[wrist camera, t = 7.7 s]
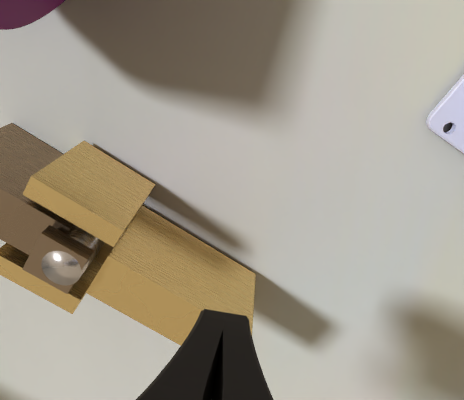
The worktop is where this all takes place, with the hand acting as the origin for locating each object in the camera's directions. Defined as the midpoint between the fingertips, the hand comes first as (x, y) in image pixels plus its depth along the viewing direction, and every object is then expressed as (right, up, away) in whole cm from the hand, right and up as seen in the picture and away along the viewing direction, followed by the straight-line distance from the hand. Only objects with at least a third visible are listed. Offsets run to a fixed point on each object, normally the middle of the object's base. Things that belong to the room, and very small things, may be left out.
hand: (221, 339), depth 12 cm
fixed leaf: (-8, +5, +9) cm, 13 cm away
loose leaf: (-4, +2, +10) cm, 11 cm away
